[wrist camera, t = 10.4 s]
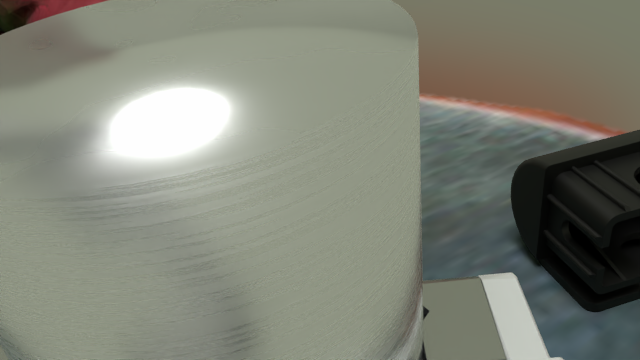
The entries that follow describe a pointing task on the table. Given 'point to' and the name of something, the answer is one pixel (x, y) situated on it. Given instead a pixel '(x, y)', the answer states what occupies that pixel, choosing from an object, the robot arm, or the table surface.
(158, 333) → the hub
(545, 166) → the end cap
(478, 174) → the table surface
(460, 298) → the robot arm
